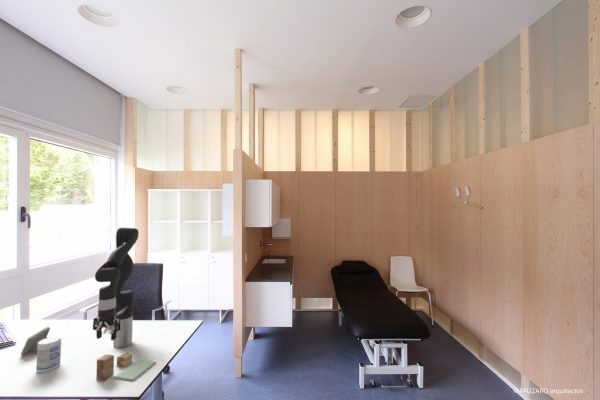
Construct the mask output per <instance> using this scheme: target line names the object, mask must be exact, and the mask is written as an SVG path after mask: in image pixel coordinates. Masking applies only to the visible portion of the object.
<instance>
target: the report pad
mask: <svg viewBox="0 0 600 400" xmlns="http://www.w3.org/2000/svg"><path fill="white" fill-rule="evenodd" d="M156 363H157V361H155V360H149V359H140V358H138V359H137V360H136V361H134V362H132V364H131V363H130V364H129V366H128V365H127V366H126V367H125V368H124V369H122V371H120V372H118V373H117V374H116V375H113V376H114V377H113V379H115V380H122V381H128V382H134V381H135V380H137V379H138V378H139V377H140V376H141V375H143V374H144V373H145V372H147V371H148V370H149V369H150V368H152V367H153V366H154V365H155V364H156Z"/></svg>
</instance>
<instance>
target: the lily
mask: <svg viewBox="0 0 600 400" xmlns="http://www.w3.org/2000/svg"><path fill="white" fill-rule="evenodd" d="M114 318H115V316H114ZM112 326H113V325H112ZM112 326H111V327H112ZM113 330H114V328H113ZM107 332H109V333H110V334H111V333H112V332H111V331H110V330H109V329H108V328H106V327H104V329H103V331H102V334H105V333H107Z"/></svg>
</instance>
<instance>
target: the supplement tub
mask: <svg viewBox="0 0 600 400" xmlns="http://www.w3.org/2000/svg"><path fill="white" fill-rule="evenodd" d="M61 351H62V337H61V336H58V335H57V336H55V335H54V336H49V337H47V338H46V339H43V340H41V341H39V342H38V345H37V353H36V367H35V368H36V369H35V370H36V372H38V373H46V372H47V373H48V372H50V371H52V370H54V369H57V368H58V367H59V366H60V365H61V357H62V356H61Z"/></svg>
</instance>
